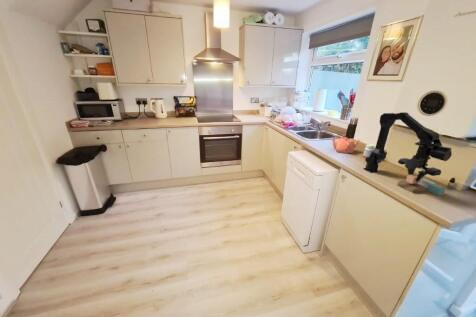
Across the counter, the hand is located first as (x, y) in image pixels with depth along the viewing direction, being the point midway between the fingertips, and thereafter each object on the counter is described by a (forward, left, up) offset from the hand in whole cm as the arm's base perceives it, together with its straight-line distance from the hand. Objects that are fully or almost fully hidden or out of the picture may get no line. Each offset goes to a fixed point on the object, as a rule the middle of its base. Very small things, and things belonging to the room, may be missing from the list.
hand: (413, 180), depth 115 cm
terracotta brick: (0, 0, -1) cm, 1 cm away
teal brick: (+7, +9, -5) cm, 13 cm away
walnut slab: (0, 0, -6) cm, 6 cm away
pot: (-67, +12, -6) cm, 68 cm away
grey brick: (+1, +11, -5) cm, 12 cm away
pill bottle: (-46, +17, -6) cm, 49 cm away
